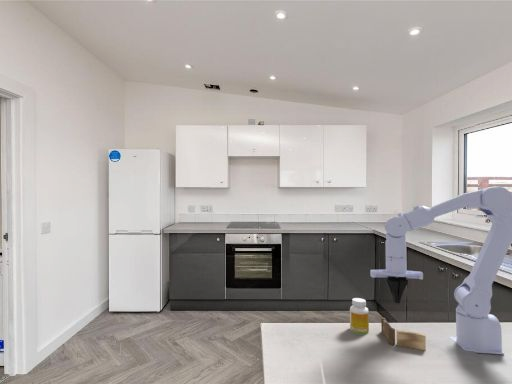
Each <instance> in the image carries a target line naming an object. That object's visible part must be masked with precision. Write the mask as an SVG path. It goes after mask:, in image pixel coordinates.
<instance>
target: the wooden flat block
mask: <svg viewBox="0 0 512 384" xmlns="http://www.w3.org/2000/svg"><path fill="white" fill-rule="evenodd" d="M426 336H427V335H426V334H425V333H419V332H415V331H414V332H412V331H406V330H400V329H396V346H399V347H404V348H411V349H416V350H422V351H426V350H427V349H426V343H427V342H426V339H427V338H426Z"/></svg>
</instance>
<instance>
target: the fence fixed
mask: <svg viewBox="0 0 512 384" xmlns="http://www.w3.org/2000/svg"><path fill="white" fill-rule="evenodd" d="M380 320H381V324H380V325H381V333H382V334H383V335H384V337H385V338H386V339H387V341H388V344H389V346H396V329H395V328H393V327H392V326H391V325H390V323H388V321H387V319H386V318H385V317H381V319H380Z"/></svg>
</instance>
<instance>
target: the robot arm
mask: <svg viewBox="0 0 512 384" xmlns="http://www.w3.org/2000/svg"><path fill="white" fill-rule="evenodd" d="M463 208H477V209H478V210H479V211H481V212H483V214H485V216H486V217H487V219H488V220H489V221H490V222H491V227H490V229H489V230H488V234H486V237H485V240H484V242H483V244H482V246H481V249H480V251H479V252H478V255H477V258H476V260H475V261H474V264H473V266H472V268H471V271H470V273H469V274H468V275H467V276H466V277H465V278H464V279H463V281H462V283H461V284H460V285H458V286H457V287H456V288H455V290H454V292H453V297H454V299H455V301H456V302H457V303H458V304H457V306H456V308H455V317H456V318H455V324H456V326H455V327H456V328H455V329H456V330H455V331H456V332H455V333H456V336H449V339H451V340H452V341H453V342H455V344H457V345H458V346H459V347H461V349H463V350H464V351H466V352H467V351H469V352H474V353H478V354H492V355H494V354H495V355H505V352H504V350H503V342H502V341H503V340H502V339H503V337H502V336H503V335H502V334H503V333H502V326H501V322H500V321H499V319H498V318H497V316H495V315H494V314H491V313H490V312H491V310H492V305H491V300H492V297H493V287H492V286H493V284H494V281H495V278H496V277H497V275H498V273H499V270H500V268H501V266H502V264H503V262H504V260H505V257H506V255H507V252H508V250H509V248H510V246H511V244H512V193H511V192H510V191H509V189H507V188H505V187H503V186H491V187H484V188H479V189H478V190H473V191H469V192H464V193H462V194H458V195H457V196H455V197H452V198H449V199H447V200H444V201H442V202H440V203H438V204H435V205H433V206H431V207H428V206H425V205H421V206H419V205H415V206H413V209H410V210H408V211H405V212H402V213H401V212H399V213H397V216H392V217H389V218H388V219H386V221H385V224H384V230H385V231H386V234H385V239H386V240H385V269H370V272H369V274H370V277H371V278H375V279H376V278H384V279H385V281H386V283H387V286H388V287H389V289H390V293H391V297H392V302H394V303H395V304H401V301H402V300H401V299H402V297H403V293H404V291H405V289H406V288H407V286H408V284H409V280H408V279H411V280H412V279H419V280H424V273H423V272H422V271H419V270H418V271H416V270H415V271H414V270H407V269H408V268H407V265H408V264H407V262H408V261H407V241H406V234H407V232H412V231H415V230H418V229H421V228H424V227H426V226H429V225H432V224H433V223H434V220H435V219H436V218H438V217H441V216H443V215H446V214H448V213H452V212H455V211H458V210H461V209H463Z"/></svg>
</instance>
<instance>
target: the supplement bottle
mask: <svg viewBox="0 0 512 384" xmlns="http://www.w3.org/2000/svg"><path fill="white" fill-rule="evenodd" d="M351 300H352V301H351V304H352V305H351V306H350V308H349V331H351V332H352V333H354V334H357V335H368V334H369V333H370V329H369V327H370V324H369V323H370V321H369V320H370V319H369V318H370V317H369V316H370V315H369V313H370V311H369V308H368V307H366V306H367V301H366V299H364V298H360V297H354V298H352V299H351Z"/></svg>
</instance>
